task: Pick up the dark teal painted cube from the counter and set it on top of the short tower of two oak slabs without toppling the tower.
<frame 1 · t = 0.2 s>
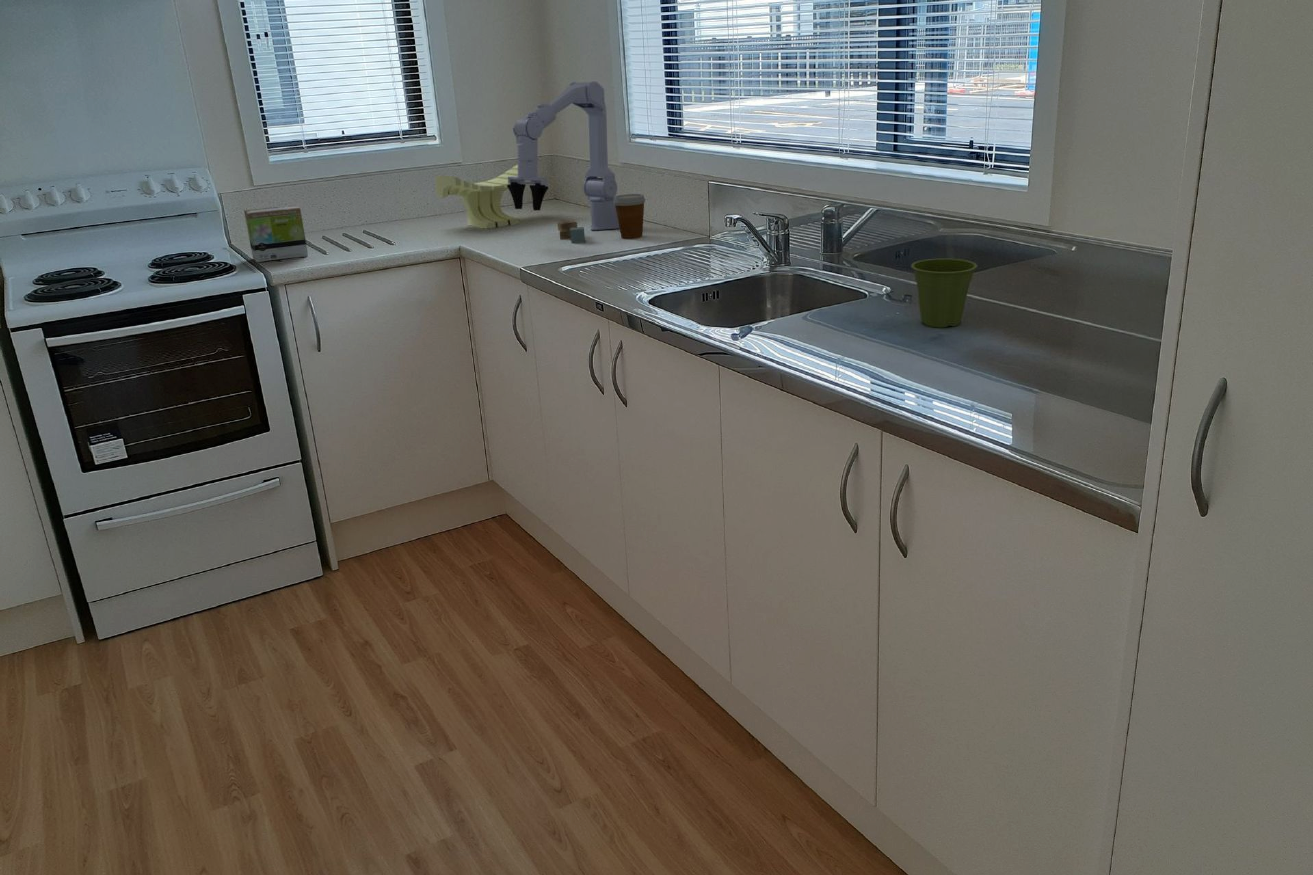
hand: (527, 209, 296), 10 cm above the counter, tool pointing down, fingers open, 7 cm apart
tea box: (281, 258, 306), on the counter
plant pot: (941, 324, 193), on the counter
bottom slab: (568, 238, 309), on the counter, touching top slab
disposable coffee cup: (631, 237, 302), on the counter
top slab: (567, 230, 308), point 2 cm above the counter, touching bottom slab
cube: (578, 242, 300), on the counter
slatted curved stool: (492, 224, 343), on the counter
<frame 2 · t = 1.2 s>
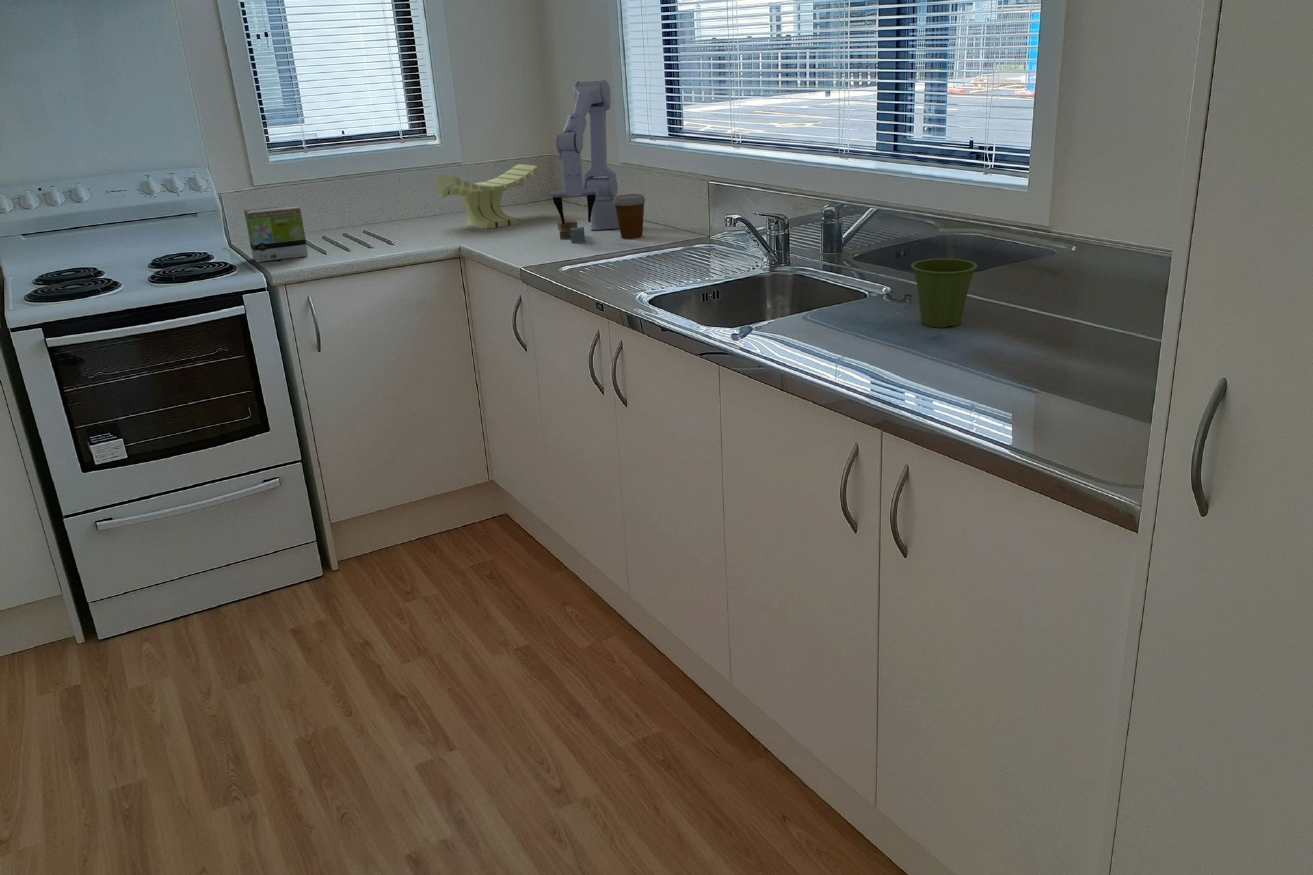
hand: (576, 222, 298), 6 cm above the counter, tool pointing down, fingers open, 7 cm apart
bottom slab: (568, 238, 309), on the counter
top slab: (567, 230, 308), point 2 cm above the counter
everything else where it was.
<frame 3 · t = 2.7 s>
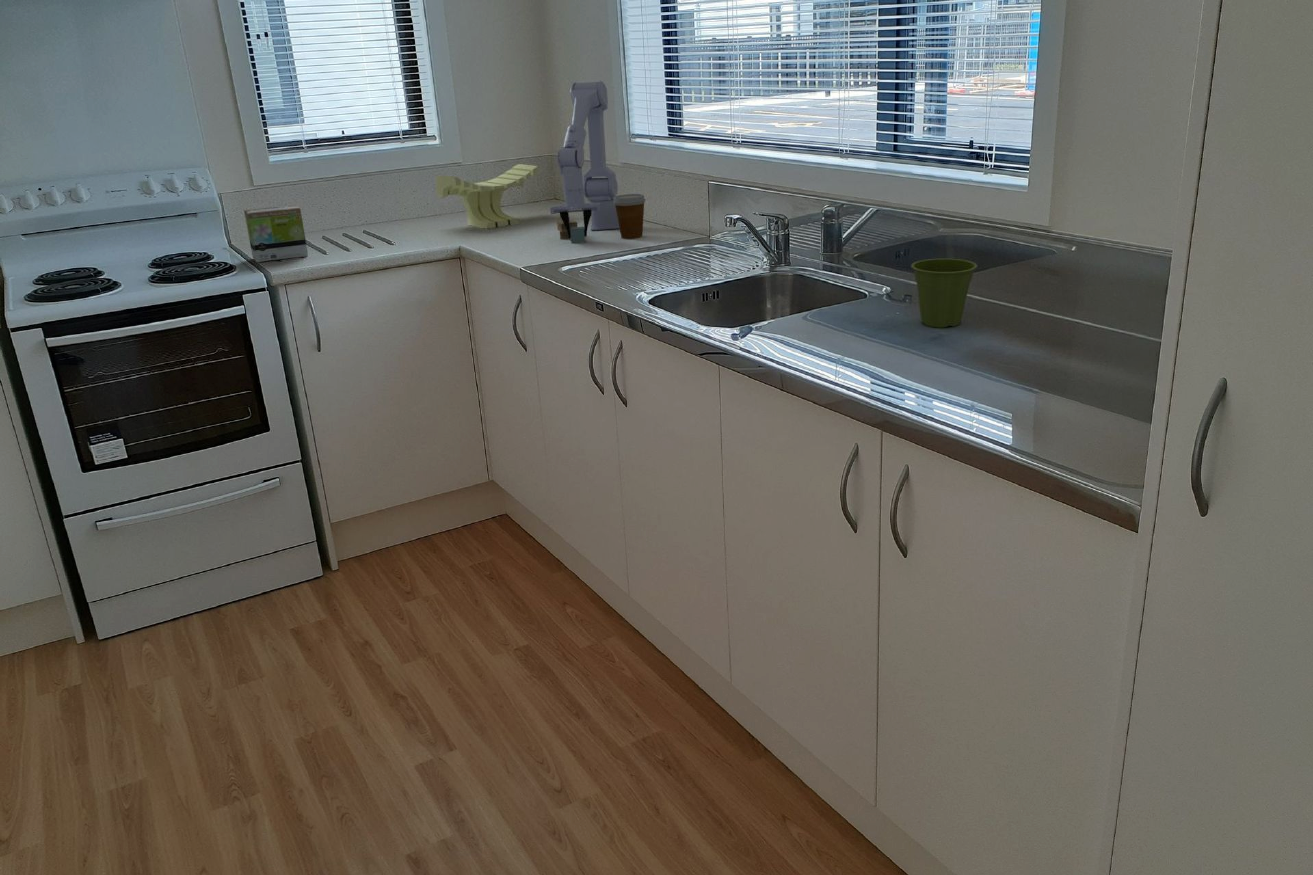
hand: (577, 236, 300), 1 cm above the counter, tool pointing down, fingers closed on cube, 4 cm apart
bottom slab: (568, 238, 309), on the counter, touching top slab
top slab: (567, 230, 308), point 2 cm above the counter, touching bottom slab
cube: (578, 241, 300), on the counter, touching gripper
everything else where it was.
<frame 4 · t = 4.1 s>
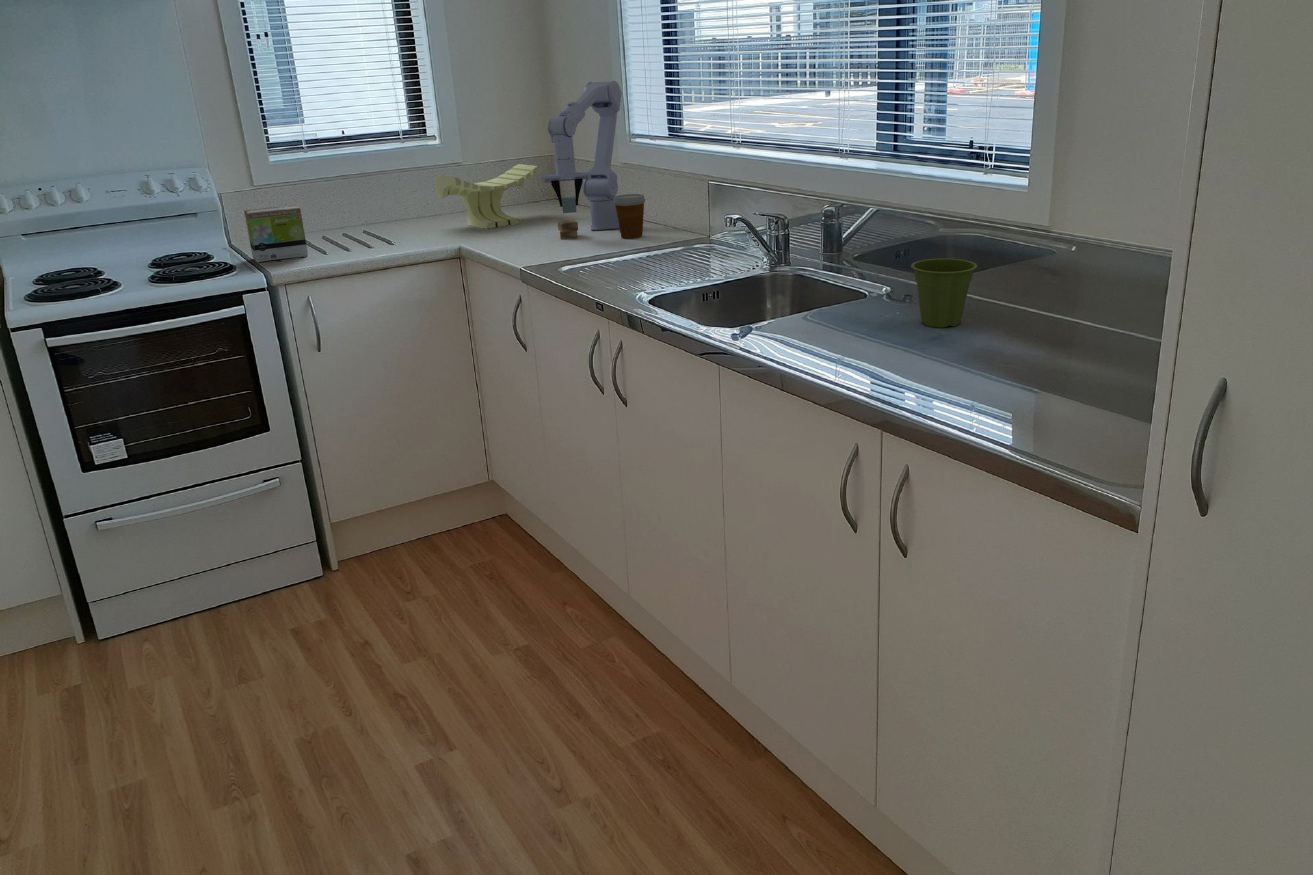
hand: (569, 205, 302), 10 cm above the counter, tool pointing down, fingers closed on cube, 4 cm apart
bottom slab: (569, 238, 309), on the counter
top slab: (568, 230, 308), point 2 cm above the counter
cube: (569, 211, 302), point 8 cm above the counter, touching gripper
everything else where it was.
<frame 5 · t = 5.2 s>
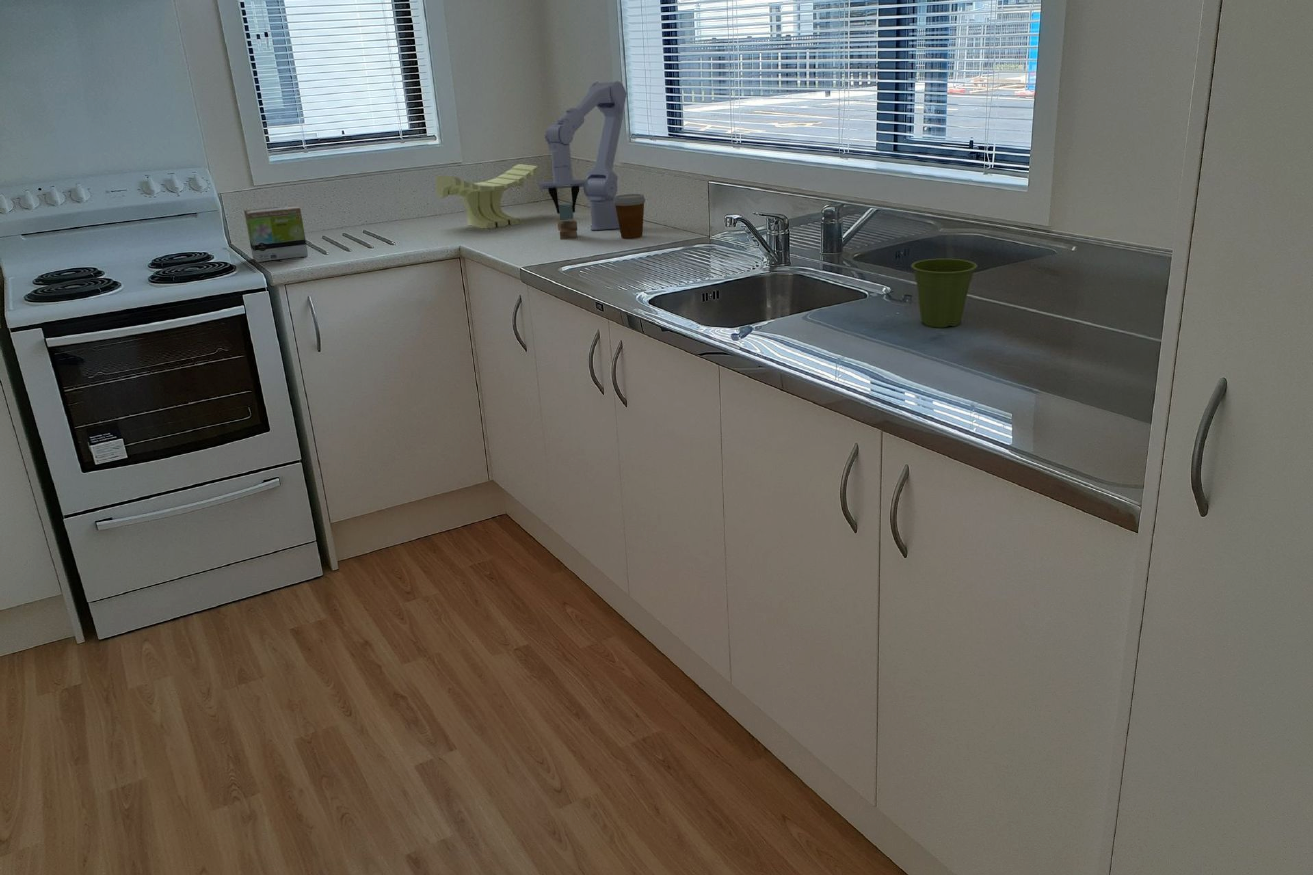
hand: (566, 212, 306), 7 cm above the counter, tool pointing down, fingers closed on cube, 4 cm apart
bottom slab: (568, 238, 309), on the counter, touching top slab
top slab: (567, 230, 308), point 2 cm above the counter, touching bottom slab
cube: (566, 218, 306), point 6 cm above the counter, touching gripper
everything else where it was.
when the fingers open (7 cm above the counter, at t = 5.7 s): cube moves 1 cm, resting on top slab.
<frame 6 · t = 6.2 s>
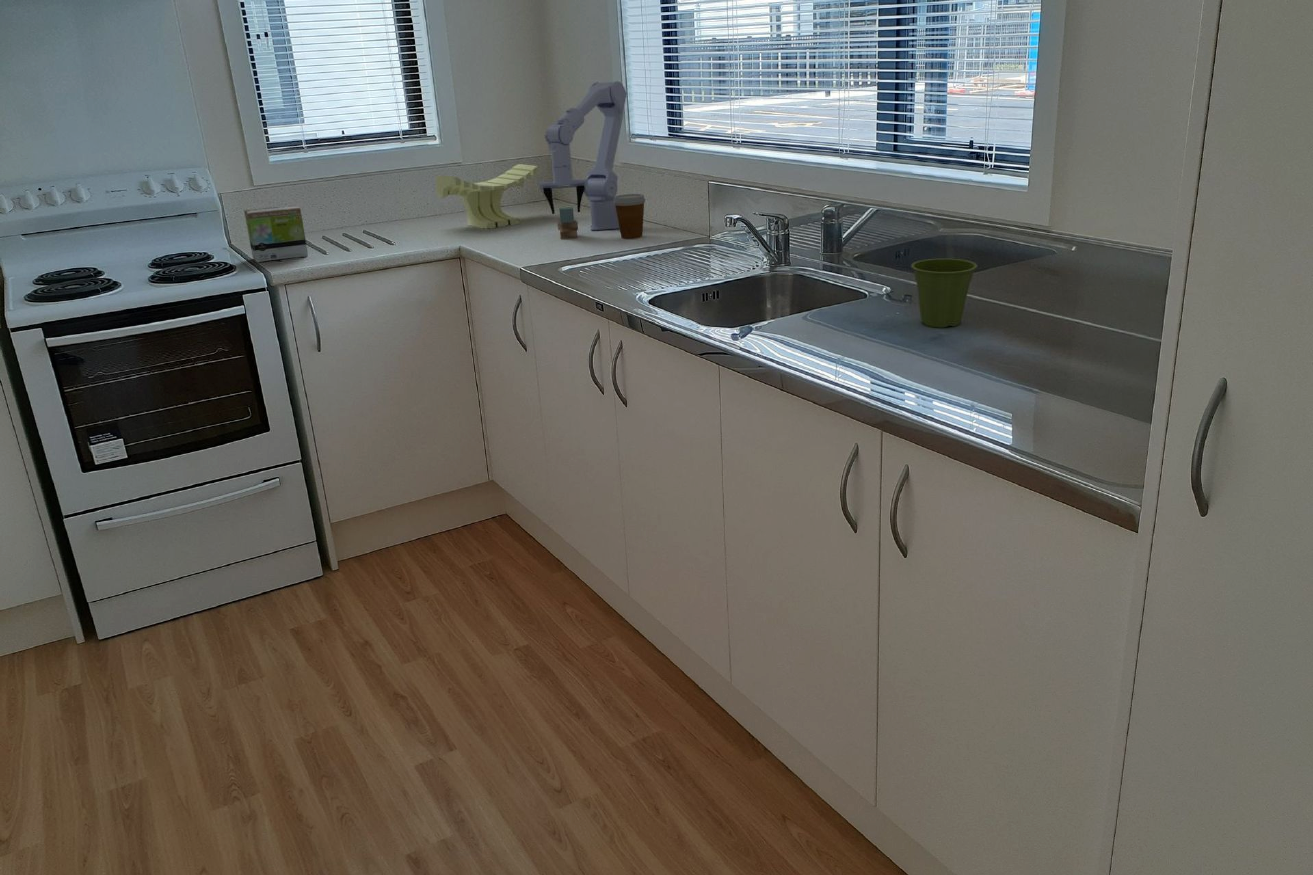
hand: (566, 212, 306), 7 cm above the counter, tool pointing down, fingers open, 7 cm apart
top slab: (568, 229, 308), point 2 cm above the counter, touching bottom slab, cube
cube: (567, 221, 307), point 5 cm above the counter, touching top slab
everything else where it was.
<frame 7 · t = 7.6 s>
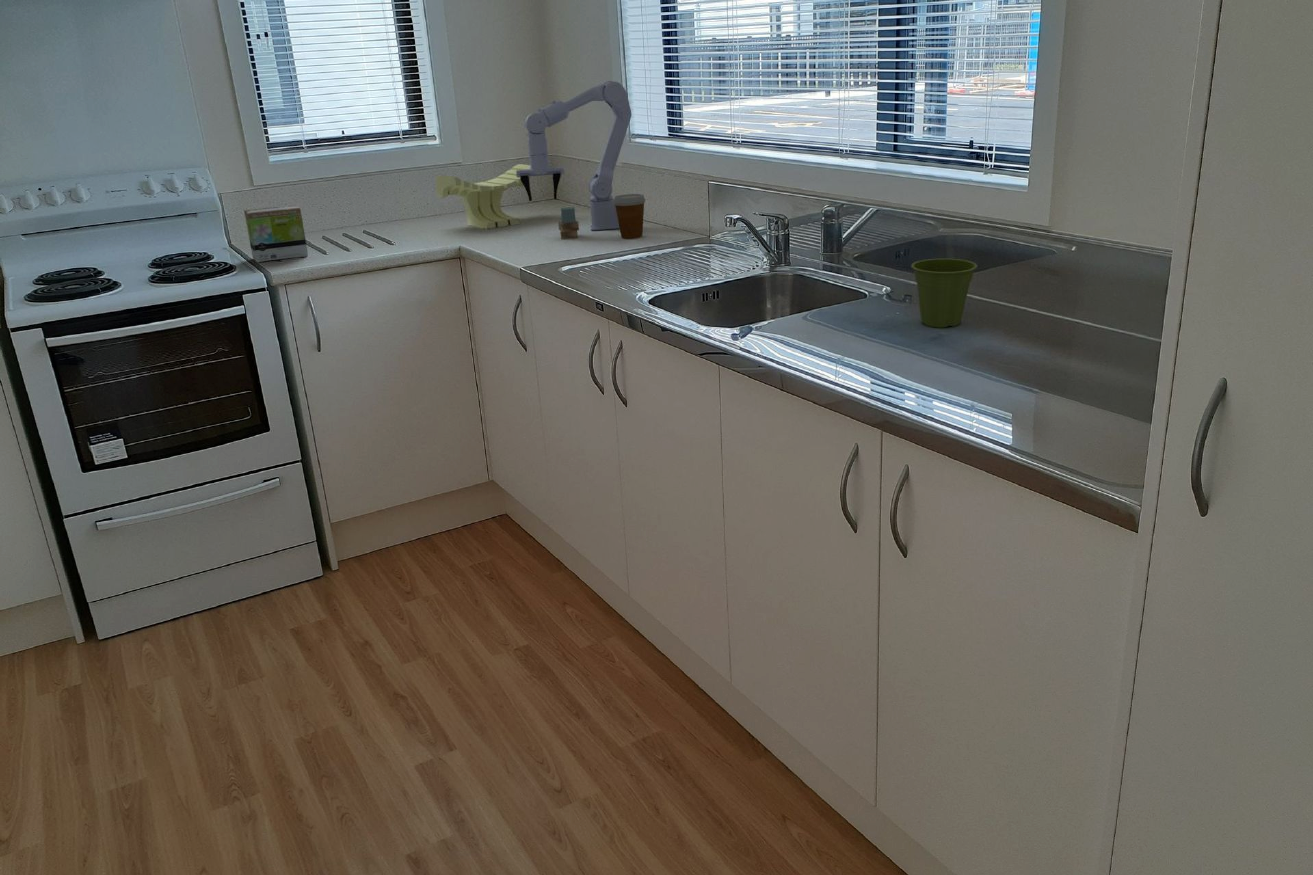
hand: (543, 199, 314), 10 cm above the counter, tool pointing down, fingers open, 7 cm apart
nothing on the counter moved.
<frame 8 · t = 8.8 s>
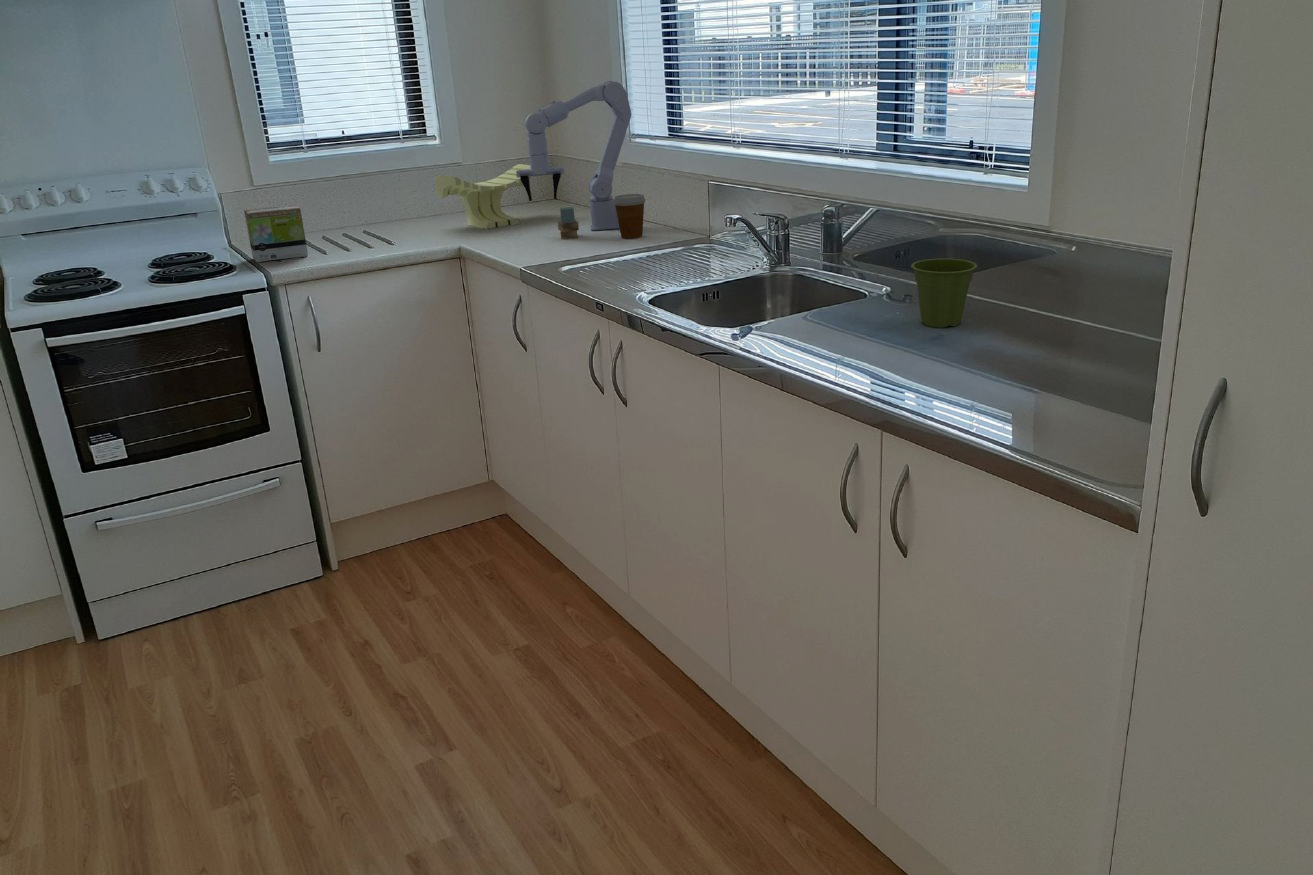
hand: (543, 199, 314), 10 cm above the counter, tool pointing down, fingers open, 7 cm apart
nothing on the counter moved.
at the end: cube 0.2 cm off-centre on the top slab, point 2.5 cm above the top slab's base; cube tilted 0°; top slab moved 0.5 cm from its start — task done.
